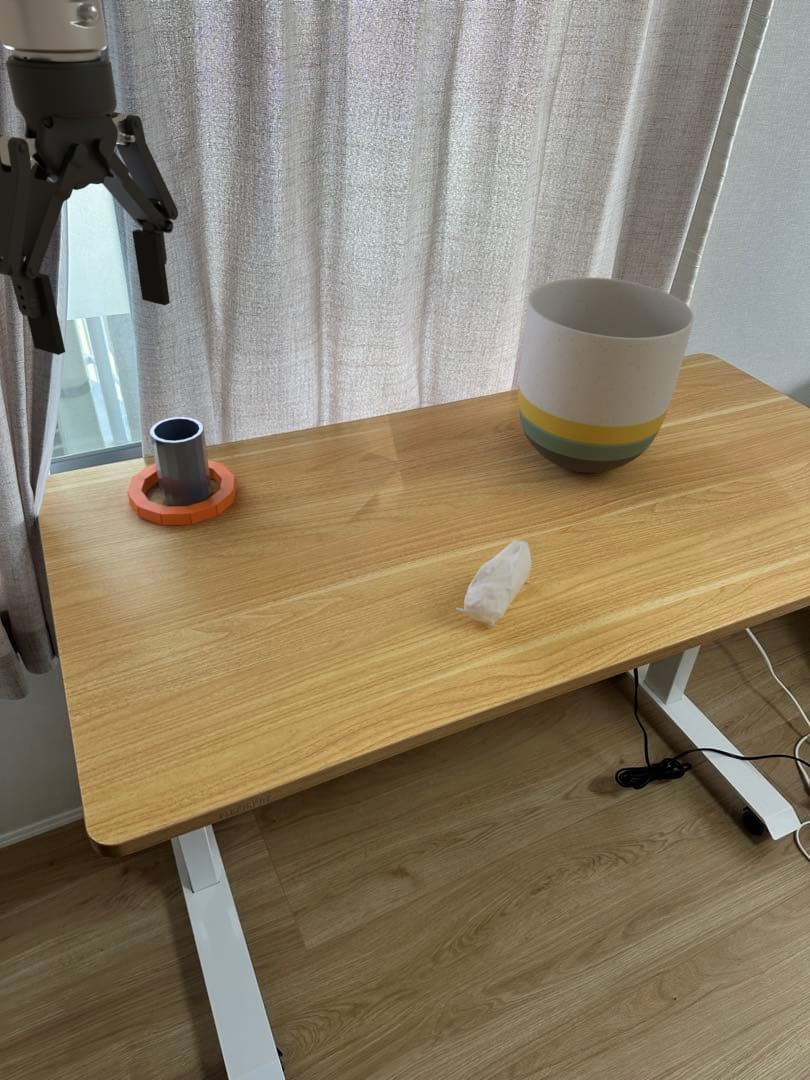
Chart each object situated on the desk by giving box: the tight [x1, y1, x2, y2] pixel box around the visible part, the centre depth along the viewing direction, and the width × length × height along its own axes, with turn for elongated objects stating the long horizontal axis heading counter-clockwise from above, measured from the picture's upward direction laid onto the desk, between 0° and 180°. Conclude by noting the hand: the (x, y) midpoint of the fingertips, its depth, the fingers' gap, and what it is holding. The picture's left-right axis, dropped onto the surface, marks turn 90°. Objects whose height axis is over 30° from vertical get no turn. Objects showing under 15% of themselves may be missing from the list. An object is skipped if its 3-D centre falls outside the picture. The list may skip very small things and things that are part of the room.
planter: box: [517, 277, 695, 474], centre depth 103 cm, size 20×20×21 cm
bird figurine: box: [455, 538, 533, 628], centre depth 84 cm, size 5×7×10 cm
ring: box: [126, 459, 237, 526], centre depth 98 cm, size 12×12×2 cm
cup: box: [149, 416, 212, 506], centre depth 96 cm, size 6×6×9 cm
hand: (106, 324), depth 73 cm, fingers open, 13 cm apart
